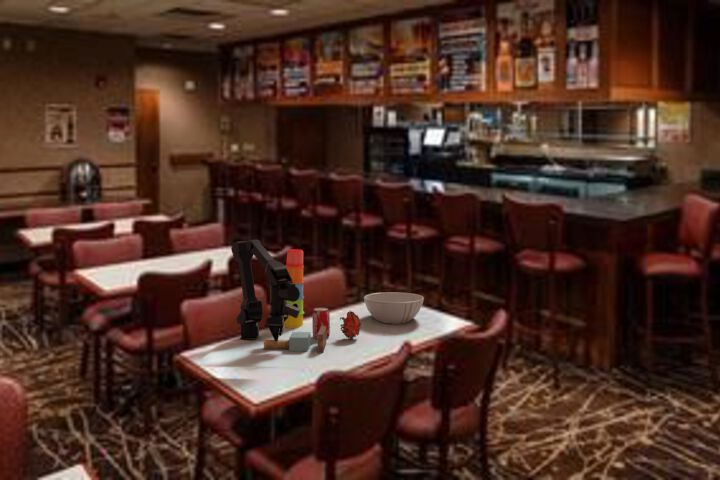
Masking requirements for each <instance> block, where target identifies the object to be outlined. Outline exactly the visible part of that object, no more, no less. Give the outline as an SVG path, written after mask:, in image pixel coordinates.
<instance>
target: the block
mask: <svg viewBox="0 0 720 480" xmlns="http://www.w3.org/2000/svg"><path fill="white" fill-rule="evenodd" d="M288 340H289V349H288V350H289V352H309V349H310V348H311V331H310V332H308V331H293V332H292V333H291V334H290V336H289V339H288Z"/></svg>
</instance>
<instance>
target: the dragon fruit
mask: <svg viewBox="0 0 720 480" xmlns="http://www.w3.org/2000/svg"><path fill="white" fill-rule="evenodd" d="M346 312H347V311H346ZM339 320H342V321H343V324H342V323H341V324H340V331H341V332H342V334H343V336H345V338H347V339H349V340H351V339H354V338H356V337H357V336H359V335H360V331H361V326H362V321H361V320H360V318H359V315H357V314H356V313H355V312H353V311H352V310H350V309H349V311H348V312H347V313H346V317H344V316H342V317H339Z"/></svg>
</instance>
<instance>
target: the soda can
mask: <svg viewBox="0 0 720 480" xmlns="http://www.w3.org/2000/svg"><path fill="white" fill-rule="evenodd" d="M330 316H331V315H330V311H329V308H327V307H315V308H314V309H313V311H312V319H311V320H312V321H311V322H312V324H311V325H312V337H313V338H315V339H317V340H318V332H319V330H320V328H321V326H326V339H328V338H329V337H330V333H331V332H330V331H331V329H330V328H331V319H330V318H331V317H330Z"/></svg>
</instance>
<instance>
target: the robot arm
mask: <svg viewBox="0 0 720 480" xmlns="http://www.w3.org/2000/svg"><path fill="white" fill-rule="evenodd" d="M230 249H231V253H232V256H233V257H232V258H233V259H234V260H235V261H236V263H237V264H238V270H239V276H240V277H239V278H240V283H241V291H242V292H241V293H242V299H243V300H242V302H241V305H240V312H239V314H238V315H237V317H236V322H237V324H238V325H240V337H239V339H240V340H256V339H257V338H258V337H259V336H260V325H258V323H262V318H263V313H264V309H263V303H262V301H261V300H259V299H258V298H257V297H256V289H255V282H254V276H253V270H252V268H253V267H252V260H253V258H254V257H255V258H256V260H257V261H258V262H259V263H260V264H261V265H262V267H263V268H264V274H265V275H266V277H267V279H268V280H269V282H267V283H266V286H268V287H269V289H270V290H269V294H270V295H269V300H270V301H269V302H268V303H269V304H268V305H269V309H270V312H269V316H268V317H267V318H266V319H265V325H266V326H267V328H268V329H269V332H270V335H271V336H272V337H273V340H275V341H278V340H279V336H282V334H283V330H284V322H285V321H286V320H287V319H288V316H289V315H290V316H292V317H294V318H297V317H298V315H299V312H300V308H299V307H298V304H297V303H294V304H293V305H289V304H287V301H291V302H295V301H297V300H298V298H299V296H300V292H299V289H298V288H297V287H295V283H293V281H292V278H291V276H290V274H289V272H288V270H287V268H286V266H285V264H283V263H282V262H280V261H278V260H276V259H274V258H273V256H272V255H271V254H270V252H269V251H267V249H266V248H265V247H264V245H262V242H261V240H259V239H251V240H245V241H244V240H243V241H235V242H234V241H233V244H232V245H231V247H230ZM285 279H286V280H285ZM286 300H287V301H286ZM285 315H287V316H285Z"/></svg>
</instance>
